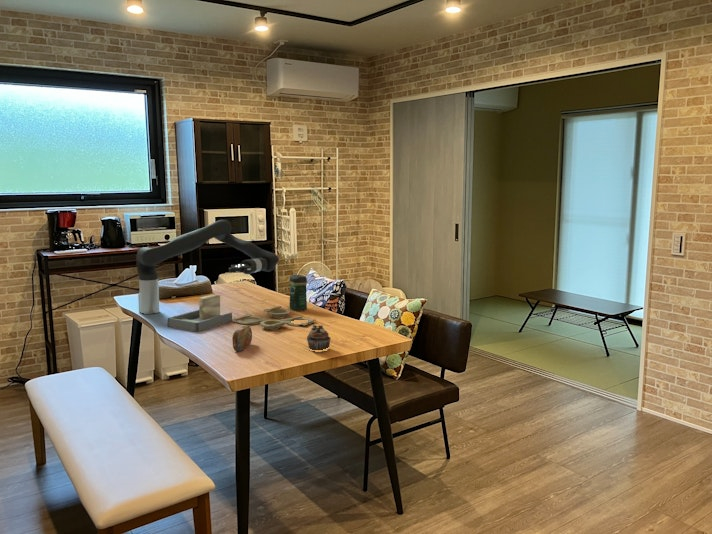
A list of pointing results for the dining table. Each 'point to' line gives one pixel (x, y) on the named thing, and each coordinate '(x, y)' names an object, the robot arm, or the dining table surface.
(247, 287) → the dining table surface
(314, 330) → the cupcake
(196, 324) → the grey tray
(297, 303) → the coffee jar
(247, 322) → the tableware set
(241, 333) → the brown flat stone
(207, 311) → the birch block
